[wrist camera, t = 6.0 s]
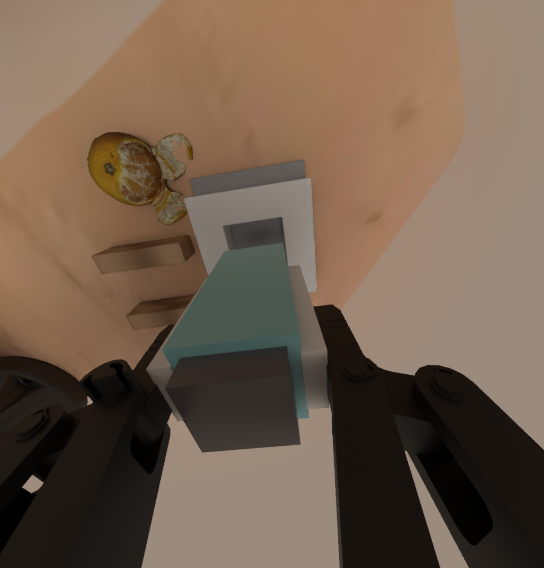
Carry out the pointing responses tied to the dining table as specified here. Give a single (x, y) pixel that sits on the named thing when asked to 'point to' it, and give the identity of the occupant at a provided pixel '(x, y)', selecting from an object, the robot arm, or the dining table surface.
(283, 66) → the dining table surface
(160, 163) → the fruit
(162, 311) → the pair of wooden rails
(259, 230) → the port
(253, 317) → the plug
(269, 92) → the dining table surface
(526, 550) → the robot arm
